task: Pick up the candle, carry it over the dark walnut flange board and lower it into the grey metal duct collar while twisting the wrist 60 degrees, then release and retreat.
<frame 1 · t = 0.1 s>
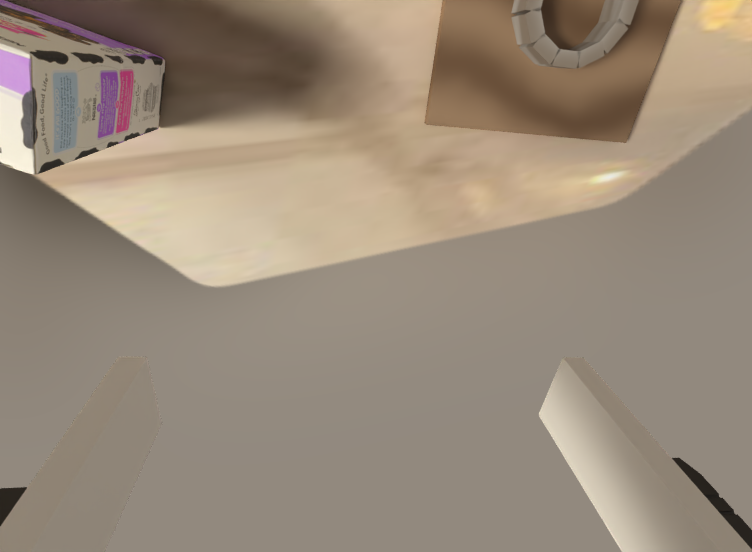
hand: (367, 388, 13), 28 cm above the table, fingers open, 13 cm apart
flange board: (559, 6, 32), on the table
candy box: (70, 62, 31), on the table
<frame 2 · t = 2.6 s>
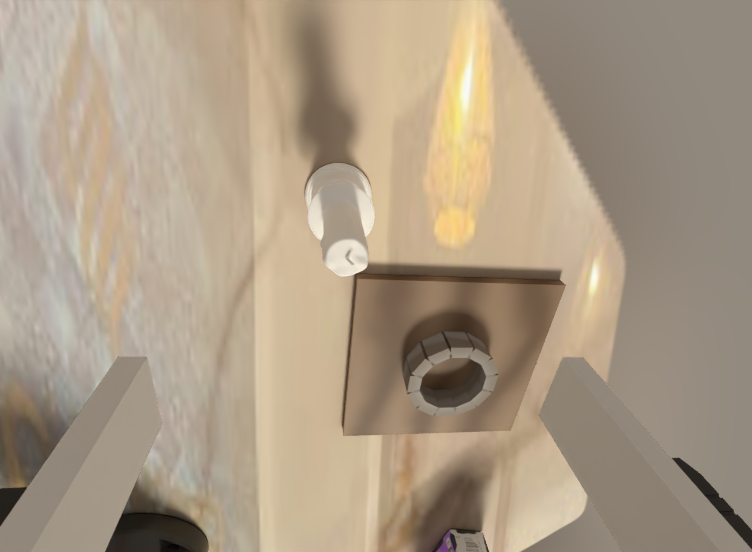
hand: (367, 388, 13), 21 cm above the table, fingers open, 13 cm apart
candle: (338, 195, 32), on the table
flange board: (443, 360, 41), on the table
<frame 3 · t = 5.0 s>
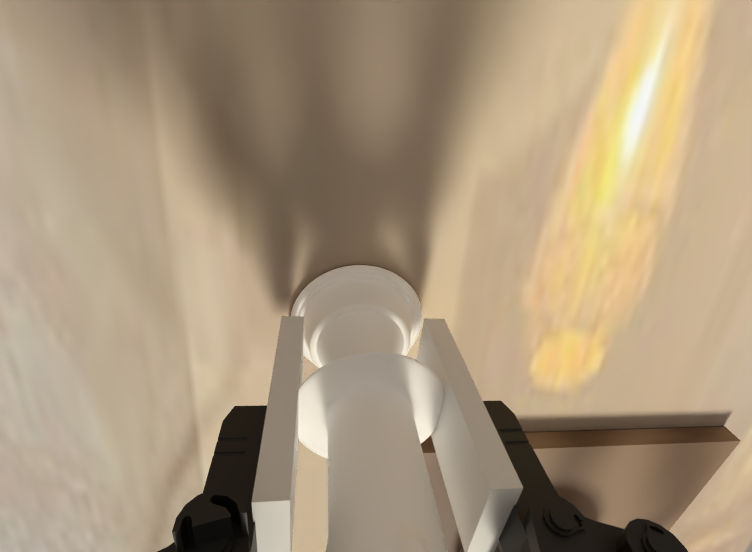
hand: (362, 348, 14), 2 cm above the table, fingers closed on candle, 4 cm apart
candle: (356, 318, 16), on the table, touching gripper
flange board: (517, 535, 26), on the table
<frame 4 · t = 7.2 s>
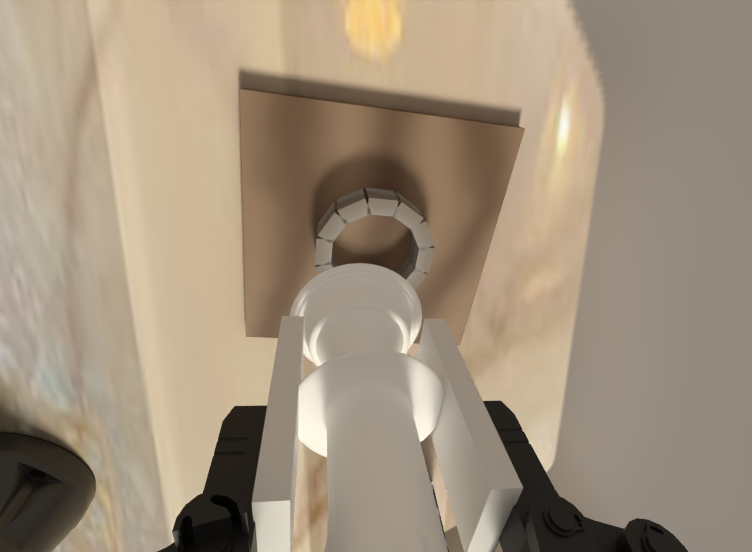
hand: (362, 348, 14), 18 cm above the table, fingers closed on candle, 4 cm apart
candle: (356, 317, 16), point 16 cm above the table, touching gripper
flange board: (370, 237, 32), on the table
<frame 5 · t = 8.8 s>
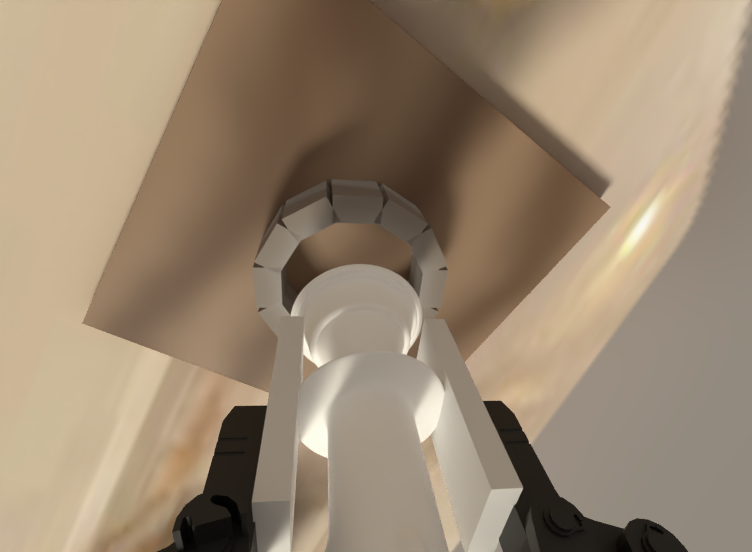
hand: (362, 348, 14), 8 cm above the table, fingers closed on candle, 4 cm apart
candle: (356, 317, 16), point 6 cm above the table, touching gripper
flange board: (348, 256, 21), on the table
when the fingers open (4 cm above the table, at t = 9.7 s): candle drops 1 cm, resting on flange board.
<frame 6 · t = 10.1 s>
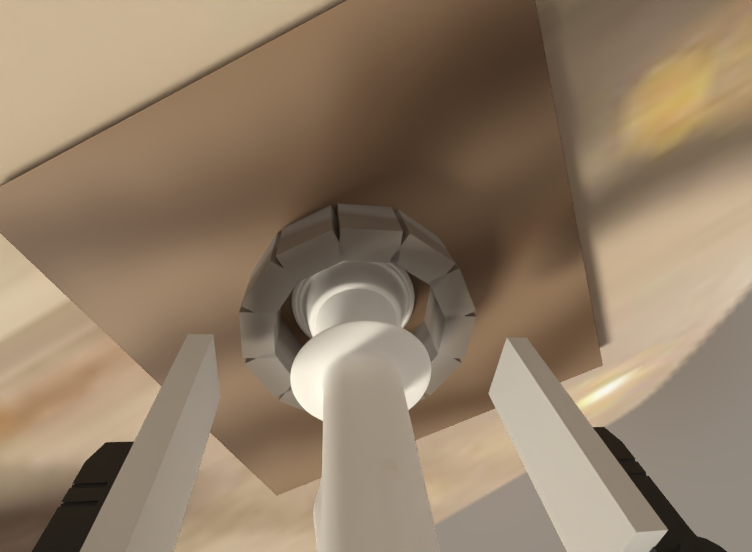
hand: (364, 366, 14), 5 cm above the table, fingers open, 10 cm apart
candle: (353, 298, 17), point 1 cm above the table, touching flange board
flange board: (354, 290, 18), on the table
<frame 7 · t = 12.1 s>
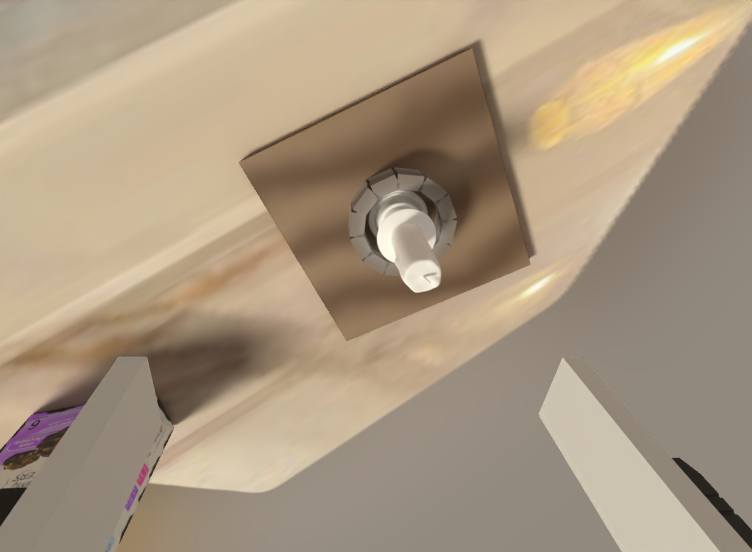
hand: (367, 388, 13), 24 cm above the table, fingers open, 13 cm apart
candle: (397, 217, 35), point 1 cm above the table, touching flange board
flange board: (397, 215, 36), on the table
candy box: (106, 418, 44), on the table
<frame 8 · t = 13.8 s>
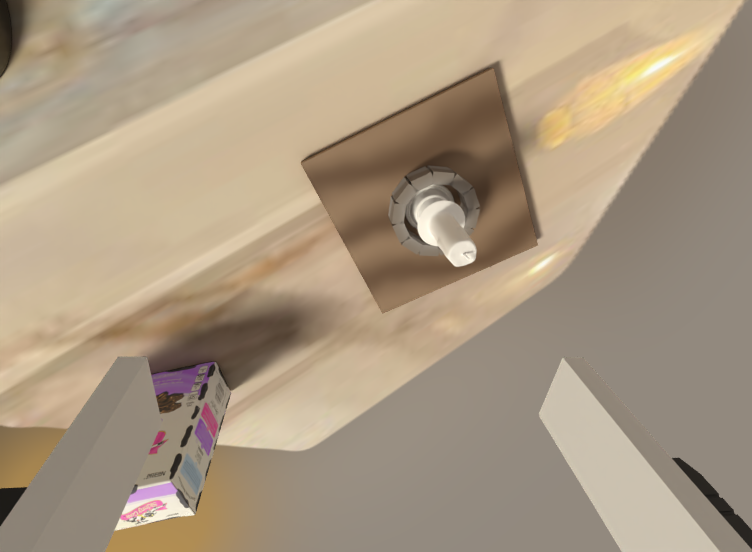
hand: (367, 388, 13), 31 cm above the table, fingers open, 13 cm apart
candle: (429, 206, 42), point 1 cm above the table, touching flange board
flange board: (428, 205, 42), on the table
candy box: (172, 385, 51), on the table
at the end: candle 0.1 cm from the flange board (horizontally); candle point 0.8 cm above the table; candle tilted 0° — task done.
